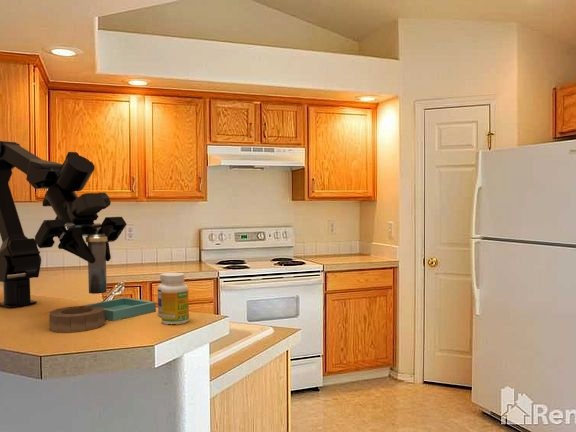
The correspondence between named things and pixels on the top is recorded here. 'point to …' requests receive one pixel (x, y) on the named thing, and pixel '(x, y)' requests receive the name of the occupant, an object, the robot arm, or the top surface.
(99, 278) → the steel pin
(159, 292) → the pill bottle
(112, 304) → the tray
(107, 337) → the top surface
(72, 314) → the socket
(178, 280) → the supplement bottle
